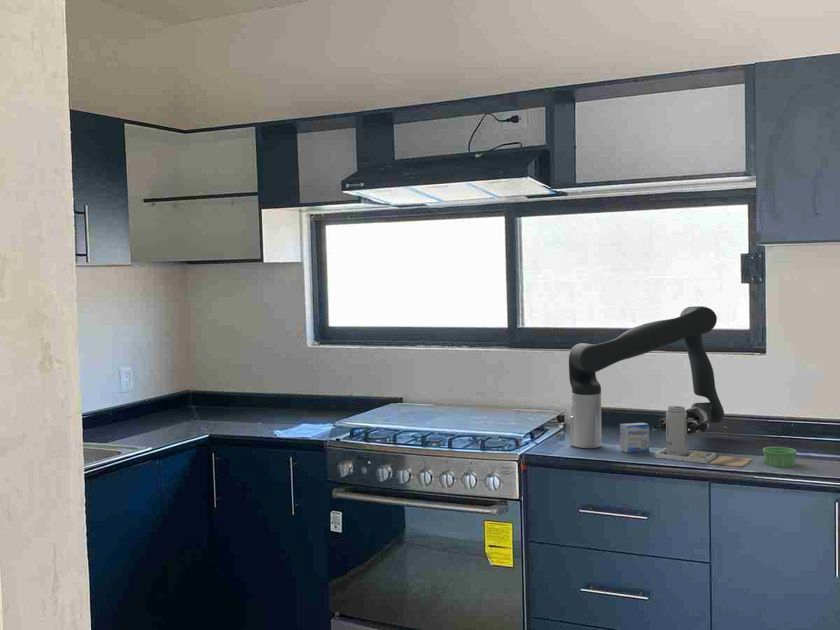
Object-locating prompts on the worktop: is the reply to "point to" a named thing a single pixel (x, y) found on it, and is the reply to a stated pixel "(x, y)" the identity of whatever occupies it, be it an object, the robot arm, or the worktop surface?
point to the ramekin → (779, 456)
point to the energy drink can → (676, 431)
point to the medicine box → (634, 437)
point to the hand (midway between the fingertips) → (676, 428)
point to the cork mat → (731, 461)
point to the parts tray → (694, 457)
